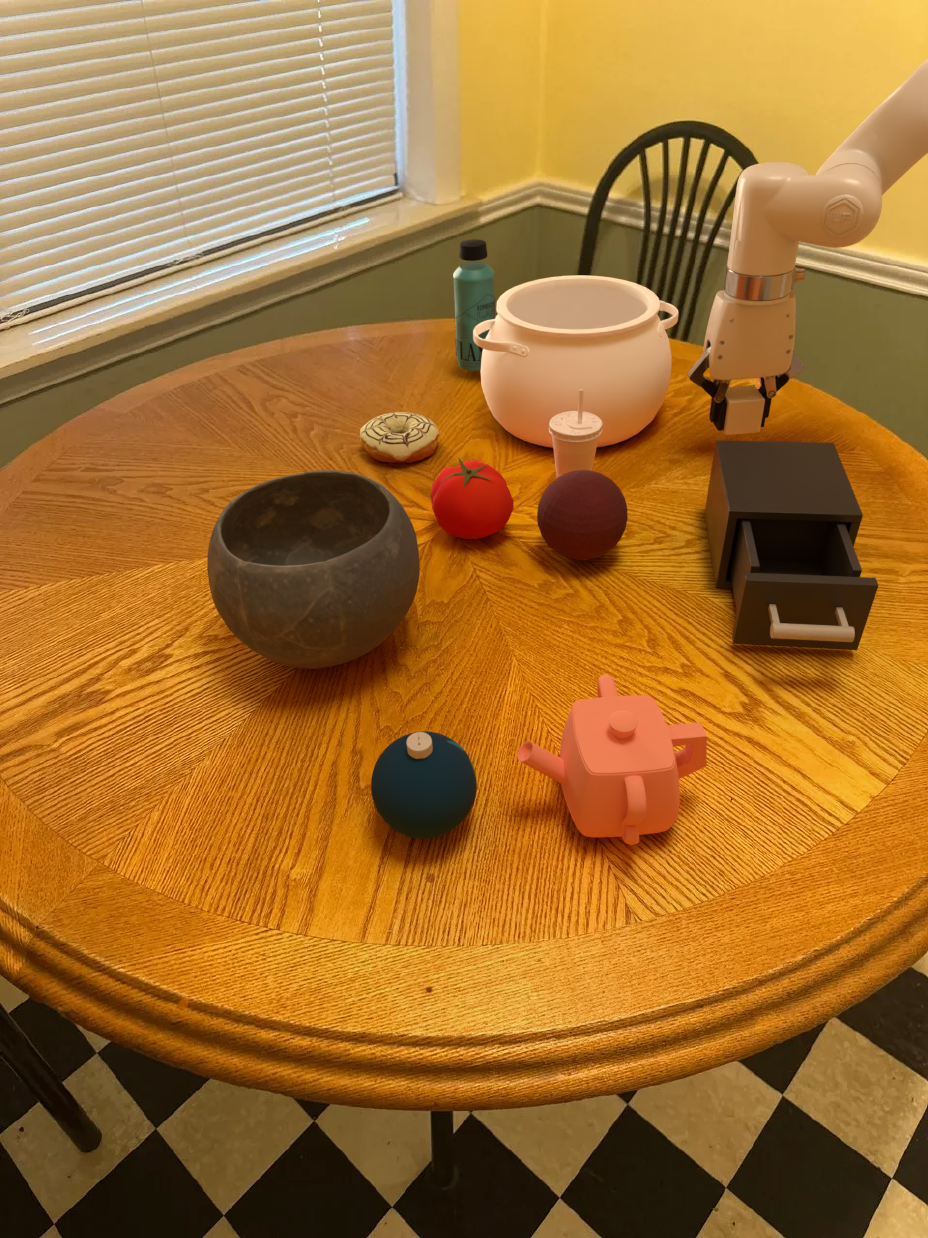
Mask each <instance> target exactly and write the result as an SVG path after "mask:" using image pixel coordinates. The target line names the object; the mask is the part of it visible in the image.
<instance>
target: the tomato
mask: <svg viewBox="0 0 928 1238" xmlns="http://www.w3.org/2000/svg"><path fill="white" fill-rule="evenodd" d="M457 459H458V462H459V464H460V465H459V466H446V467H444V468H443V469H442V470H441V471H440V473H439V474H438V475H437V477H436V478H435V479H434V481H433V482H432V483H431V489H430V494H429V495H430V501H431V509H432V512H433V514H434V517H435V519H436V522H437V524H438V526H439V528H441V529H442V530H443V531H444V532H445V533H446V534H448V535H450V536H451V537H455V538H460V539H464V540H478V539H482V538H485V537H489V536H491V535H494V534H496V533H497V532H499V531H501V530H502V529H503V528H504V527H505V526H506V524H507V523H508V522H509V520H510V519H511V516H512V514H513V512H514V507H515V506H514V499H513V496H512V493H511V491H510V488H509V486H508V485H507V481H506V479H505V478H504V476H503V475H502V474H501V473H500V472H499V471H498V470H497V469H495V468H494V467H493V466H491V465H490V464H489V463H485V462H482V461H481V460H477V459H472V460H466V461H464V462H463V461H462V460H461V458H460V457H457Z"/></svg>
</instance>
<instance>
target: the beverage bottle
mask: <svg viewBox="0 0 928 1238" xmlns="http://www.w3.org/2000/svg"><path fill="white" fill-rule="evenodd" d="M458 253H459V254H458V256H459V259H461V260H462V261H467V262H464V263H462V264H460V265H459V266H458V267H457V268H455V270H454V271H453V273H452V279H453V294H454V295H453V296H454V297H453V298H454V333H455V334H454V335H455V338H454V340H455V359H456V360H455V361H456V363H457V365H458V368H460V369H461V370H464V371H467V372H481V360H482V351H483V348H481V347H479V346H478V345H476V343H475V342H474V340H473V330H474V328H475V327H476V326H477V325H478V324H480V323H481V322H484V321H487V320H492V319H495V318H496V302H497V300H496V297H495V271H494V269H493V268H492V267H491V266H489V264H487V263H486V262H482V260H485V259H486V258H488V248H487V242H486V241H485V240H484V239H478V238H477V239H476V238H472V239H471V238H470V239H466V240H462V241H461V242H460V243H459V252H458ZM489 331H490V329H489V330H486V331H484V332H482V333H481V334H479V335H478V336H479V337H480V338H482V339H485V338H486V336H487V335H488V333H489Z"/></svg>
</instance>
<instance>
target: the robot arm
mask: <svg viewBox="0 0 928 1238" xmlns="http://www.w3.org/2000/svg"><path fill="white" fill-rule="evenodd" d="M926 155H928V57H927V58H926V59H925V60H924V61H923V62H922V63H920V65H919V66H918V67H916V69H915V70H914V71H913V72H912V73H911V74H910V75H909V76H908V77H907V78H906V79H905V80H904V81H902V83H901V84H900V85H899V86H898V87H896V88H895V90H894V91H892V92H891V93H890V94H889V95H887V97H886V98H884V100H883V101H882V102H881V103H880V104H879V105H878V106H877V107H876V108H874V110H873V111H872V112H871V113H870V114H869V115H867V117H866V118H865V119H864V120H863V121H862V122H861V123H860V124H859V125H858V126H857V127H856V128H855V129H854V130H853V131H852V132H851V133H850V135H848V137H846V138H845V140H843V141H842V143H840V144H839V146H837V148H836V149H835V150H834V151H833V152H832V153H831V154H830V155H829V156H828V157H827V159H826V160H825V161H824V162H823V163H822V164H821V166H820V167H819V168H818V170H817V171H816V173H815V174H809V173H808V171H807V170H806V168H804V167H803V166H802V165H799V164H797V163H793V162H786V161H785V162H784V161H769V162H768V161H767V162H766V161H765V162H760V163H756V164H753V165H749V166H747V167H746V168H745V169H744V170H742V172H741V173H740V175H739V177H738V179H737V182H736V183H737V184H736V190H735V198H734V206H733V213H732V221H731V229H730V239H729V249H728V255H727V264H726V271H725V280H724V287H723V288H724V289H722V290H718V291H717V292H716V294H715V297H714V300H713V303H712V306H711V310H710V314H709V318H708V321H707V327H706V331H705V335H704V341H703V347H702V353H701V355H700V356H699V357H698V359H697V360H696V362H695V363H694V364H693V365H692V366H691V368H690V369H689V370H688V372H687V374H686V375H687V378H688V379H689V381H691V383H694V384H695V385H697V386H698V387H700V388H701V389H703V390H704V392H705V393H707V394H708V396H710V397H711V399H710V407H709V422H710V423H712V424H713V425H714V427H715V429H716V430H717V431H718V432H721V431H722V430H723V429H724V424H725V417H726V409H727V402H726V401H725V395H726V392H727V389H728V387H730V384H731V381H733V380H747V379H757V378H758V379H759V386H760V387H759V388H757V390H758V391H759V392H760V394H761V395H762V396H763V398H764V399H765V403H764V410H763V416H762V422H761V428H765V423H766V419H768V418H769V416H770V410H771V406H772V400H773V399H774V398H775V397H776V396H777V392H778V391H780V390H781V389H782V388H783V387H784V386H785V385H787V383H788V382H789V381H790V380H791V379H794V378H795V377H796V376H798V375H799V374H800V373H802V372H803V371H804V369H805V366H804V364H803V363H802V361H801V359H800V358H799V356H798V354H797V353H796V351H795V349H794V347H795V339H796V325H797V324H796V322H797V303H796V302H797V301H796V293H795V291H794V290H793V289H794V285H795V283H797V282H798V281H799V282H801V281H804V280H805V278H806V269H805V268H804V267H803V268H802V267H801V268H799V267H797V266H796V263H797V257H798V250H799V244H800V243H806V244H811V245H815V246H819V247H824V248H825V247H826V248H833V249H836V248H837V249H840V248H847V247H850V246H851V247H852V246H854V245H856V244H858V243H860V242H861V241H862V240H864V239H865V238H867V237H868V236H870V234H871V233H872V232H873V230H874V229H875V228H876V226H877V224H878V222H879V219H880V218H881V214H882V210H883V209H882V208H883V195H884V194H886V192H887V191H889V189H890V188H892V186H893V185H895V183H897V181H899V180H900V179H901V178H902V177H903V176H904V175H905V174H906V173H907V172H908V171H909V170H910V169H911V168H912V167H914V166H915V165H916V164H917V163H918V162H919V161H920V160H921V159H923V158H924V157H925V156H926ZM708 369H709V376H710V378H711V379H710V378H709V377H708V376H706V375H704V374H705V372H706V371H707V370H708ZM722 432H723V431H722Z"/></svg>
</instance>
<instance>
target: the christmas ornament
mask: <svg viewBox="0 0 928 1238" xmlns="http://www.w3.org/2000/svg"><path fill="white" fill-rule="evenodd" d="M473 763H474V762H473V761H472V759H471V758H470V756H469V754H468V753H467V752H466V750H465V749H464V748H463V746H461V745H460V744H459V743H458V742H456V741H455V740H454V739H452V738H450V737H449V736H447V735H444V734H442V733H438V732H434V731H426V730H425V731H413V732H411V733H407V734H404V735H402V736H400V737H398V738H397V739H395V740H394V741H392V742H391V743H390V744H388V745H387V747H386V748H384V749H383V751H382V752H381V754H380V755H379V756H378V758H377V760H376V762H375V765H374V767H373V770H372V774H371V780H370V792H371V797H372V802H373V805H374V808H375V810H376V811H377V813H378V815H379V816H380V818H381V819H382V820H383V822H384V823H385V824H386V825H387V826H388V827H389V828H390V829H392V830H393V831H395V832H396V833H398V834H400V835H402V836H405V837H408V838H411V839H416V840H430V839H436V838H439V837H443V836H445V835H447V834H449V833H450V832H451V833H452V831H454V830H455V829H457V827H459V826H460V825H461V824H462V823H463V822H464V821H465V819H466V818H467V817H468V816H469V814H470V812H471V810H472V808H473V806H474V803H475V800H476V797H477V790H478V781H477V774H476V770H475V766H474V764H473Z"/></svg>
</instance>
